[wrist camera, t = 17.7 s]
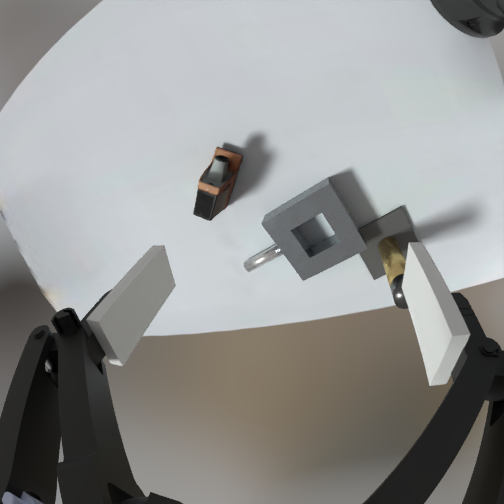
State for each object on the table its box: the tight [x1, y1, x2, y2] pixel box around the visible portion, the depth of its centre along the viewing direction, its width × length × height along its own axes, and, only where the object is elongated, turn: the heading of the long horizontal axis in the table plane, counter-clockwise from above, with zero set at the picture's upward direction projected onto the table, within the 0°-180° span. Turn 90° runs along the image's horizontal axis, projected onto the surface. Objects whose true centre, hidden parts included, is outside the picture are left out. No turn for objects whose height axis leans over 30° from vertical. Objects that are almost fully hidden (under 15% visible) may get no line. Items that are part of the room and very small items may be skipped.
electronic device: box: [193, 147, 243, 221], centre depth 44 cm, size 4×10×8 cm, turn 162°
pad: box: [359, 206, 417, 280], centre depth 46 cm, size 10×10×1 cm
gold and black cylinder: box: [378, 237, 408, 309], centre depth 40 cm, size 4×4×14 cm
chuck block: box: [244, 178, 367, 281], centre depth 48 cm, size 20×12×4 cm, turn 127°
